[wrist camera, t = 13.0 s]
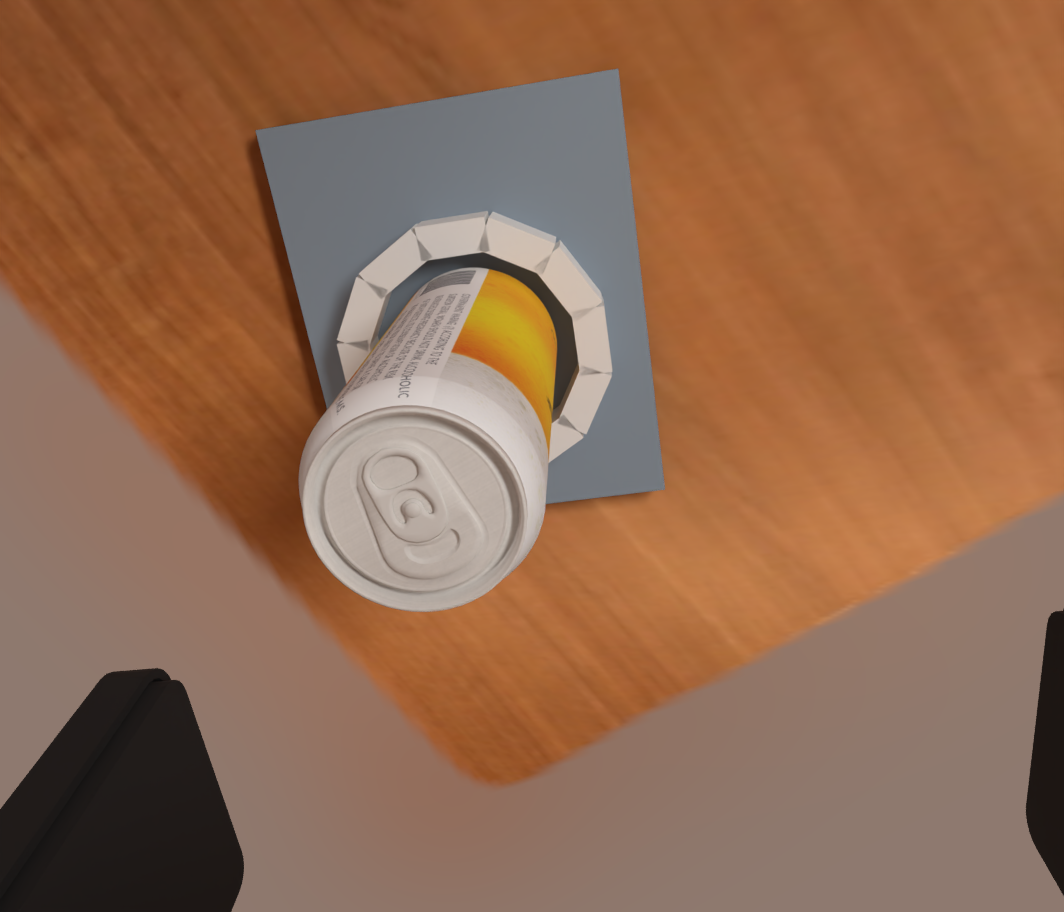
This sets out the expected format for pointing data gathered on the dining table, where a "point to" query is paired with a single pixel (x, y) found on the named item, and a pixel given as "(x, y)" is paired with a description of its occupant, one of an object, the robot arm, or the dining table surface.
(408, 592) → the beer can
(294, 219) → the base board
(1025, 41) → the dining table surface
